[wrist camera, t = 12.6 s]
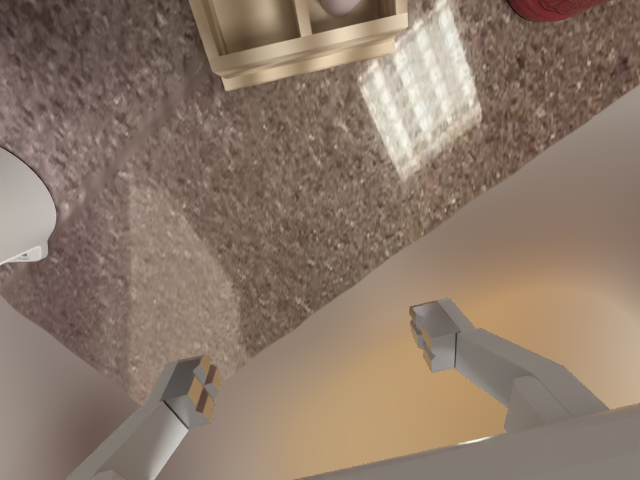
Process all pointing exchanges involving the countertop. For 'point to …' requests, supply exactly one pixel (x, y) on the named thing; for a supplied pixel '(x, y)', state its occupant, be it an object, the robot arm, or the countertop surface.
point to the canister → (552, 8)
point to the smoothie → (339, 6)
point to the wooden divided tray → (292, 36)
